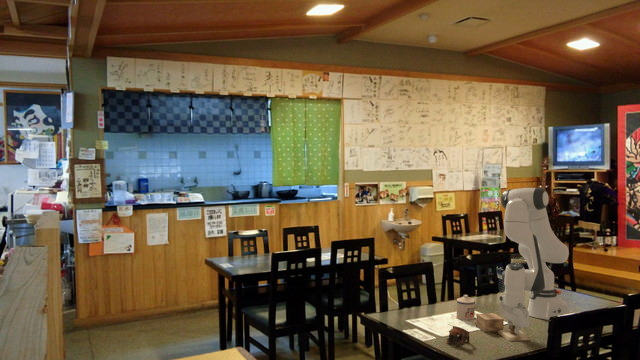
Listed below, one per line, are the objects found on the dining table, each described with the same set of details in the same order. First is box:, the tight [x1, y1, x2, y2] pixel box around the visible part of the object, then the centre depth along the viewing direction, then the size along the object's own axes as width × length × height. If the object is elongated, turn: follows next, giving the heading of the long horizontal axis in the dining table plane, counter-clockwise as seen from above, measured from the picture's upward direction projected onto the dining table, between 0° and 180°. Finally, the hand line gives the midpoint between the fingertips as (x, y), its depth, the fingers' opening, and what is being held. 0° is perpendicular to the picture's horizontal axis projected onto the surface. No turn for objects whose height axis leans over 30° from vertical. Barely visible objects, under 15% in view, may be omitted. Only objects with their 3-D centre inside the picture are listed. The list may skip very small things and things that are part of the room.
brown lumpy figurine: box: [446, 326, 470, 347], centre depth 214 cm, size 12×10×8 cm
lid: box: [498, 324, 531, 342], centre depth 224 cm, size 10×10×5 cm
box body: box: [475, 312, 505, 334], centre depth 234 cm, size 9×9×6 cm
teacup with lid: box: [456, 294, 477, 322], centre depth 252 cm, size 12×9×12 cm
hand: (513, 331), depth 224 cm, fingers closed on lid, 3 cm apart
